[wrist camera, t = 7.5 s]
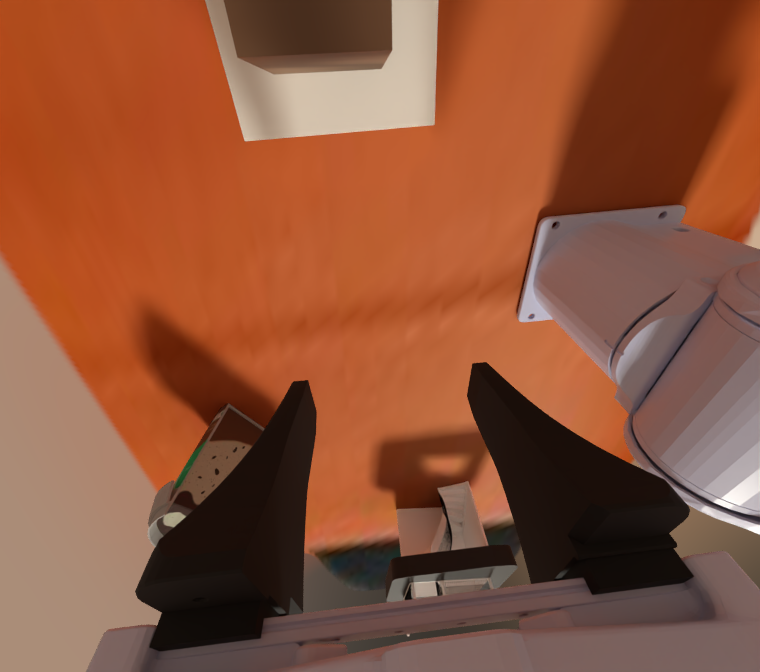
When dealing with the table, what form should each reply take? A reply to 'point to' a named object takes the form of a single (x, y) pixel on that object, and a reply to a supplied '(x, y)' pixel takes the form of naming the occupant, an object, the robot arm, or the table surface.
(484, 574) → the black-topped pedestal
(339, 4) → the grayish beige block
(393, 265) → the table surface
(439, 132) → the table surface
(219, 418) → the food container
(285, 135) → the base block
